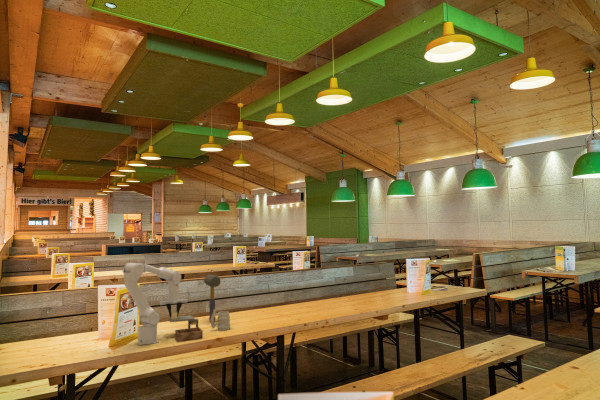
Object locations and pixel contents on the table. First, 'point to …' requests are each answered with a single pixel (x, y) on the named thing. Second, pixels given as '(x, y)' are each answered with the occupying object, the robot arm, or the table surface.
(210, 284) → the rubber mallet
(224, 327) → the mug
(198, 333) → the toolbox
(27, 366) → the table surface
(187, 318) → the lid
